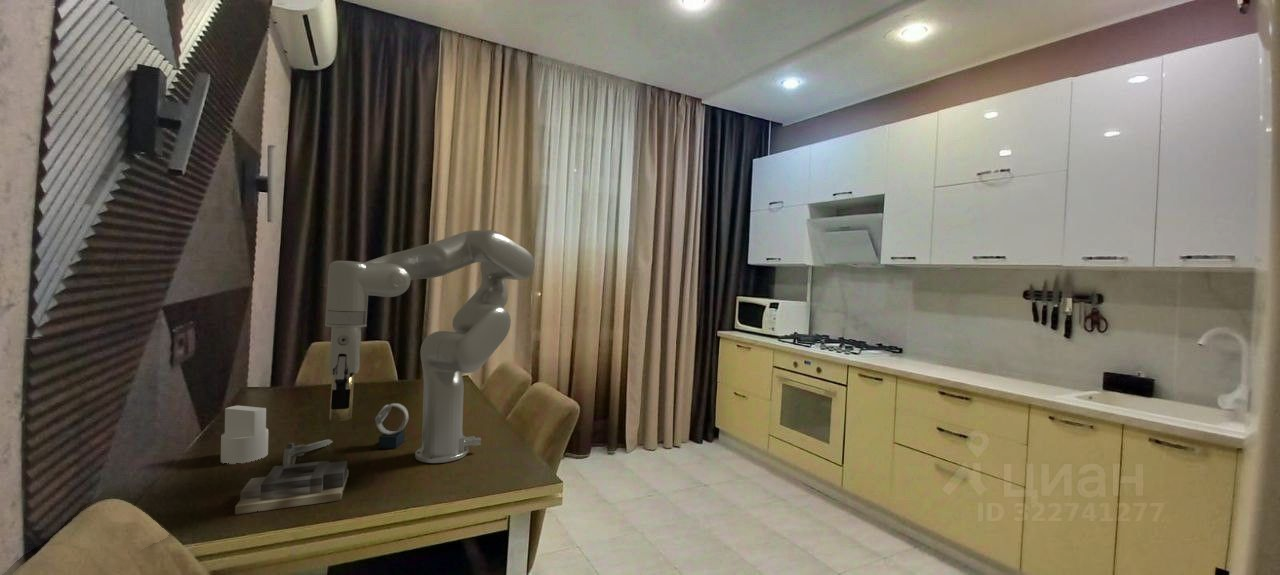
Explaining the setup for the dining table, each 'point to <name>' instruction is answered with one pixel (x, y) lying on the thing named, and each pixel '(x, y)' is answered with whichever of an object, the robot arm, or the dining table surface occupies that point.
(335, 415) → the brass pin
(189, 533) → the dining table surface
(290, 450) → the caliper
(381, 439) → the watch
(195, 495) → the dining table surface
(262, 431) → the cylinder with rectangular tab
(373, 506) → the dining table surface
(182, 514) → the dining table surface
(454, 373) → the robot arm
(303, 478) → the gray stepped fixture base
